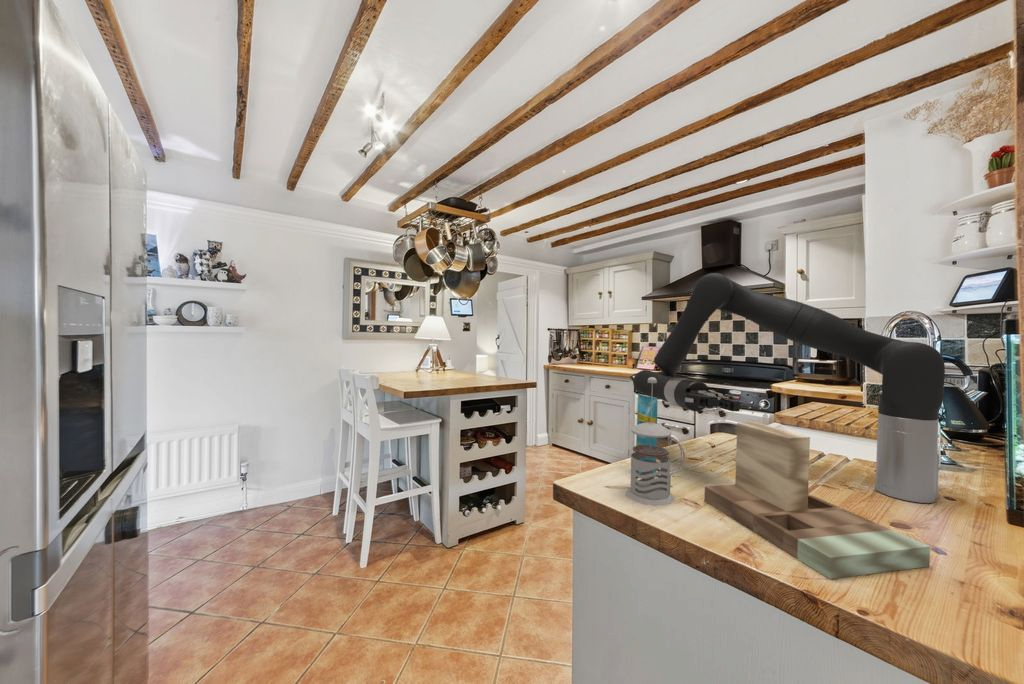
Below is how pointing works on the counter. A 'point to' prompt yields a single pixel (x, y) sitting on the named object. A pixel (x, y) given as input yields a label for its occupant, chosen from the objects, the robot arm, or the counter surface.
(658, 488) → the french press
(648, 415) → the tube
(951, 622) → the counter surface
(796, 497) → the block
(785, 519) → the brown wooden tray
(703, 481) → the counter surface
